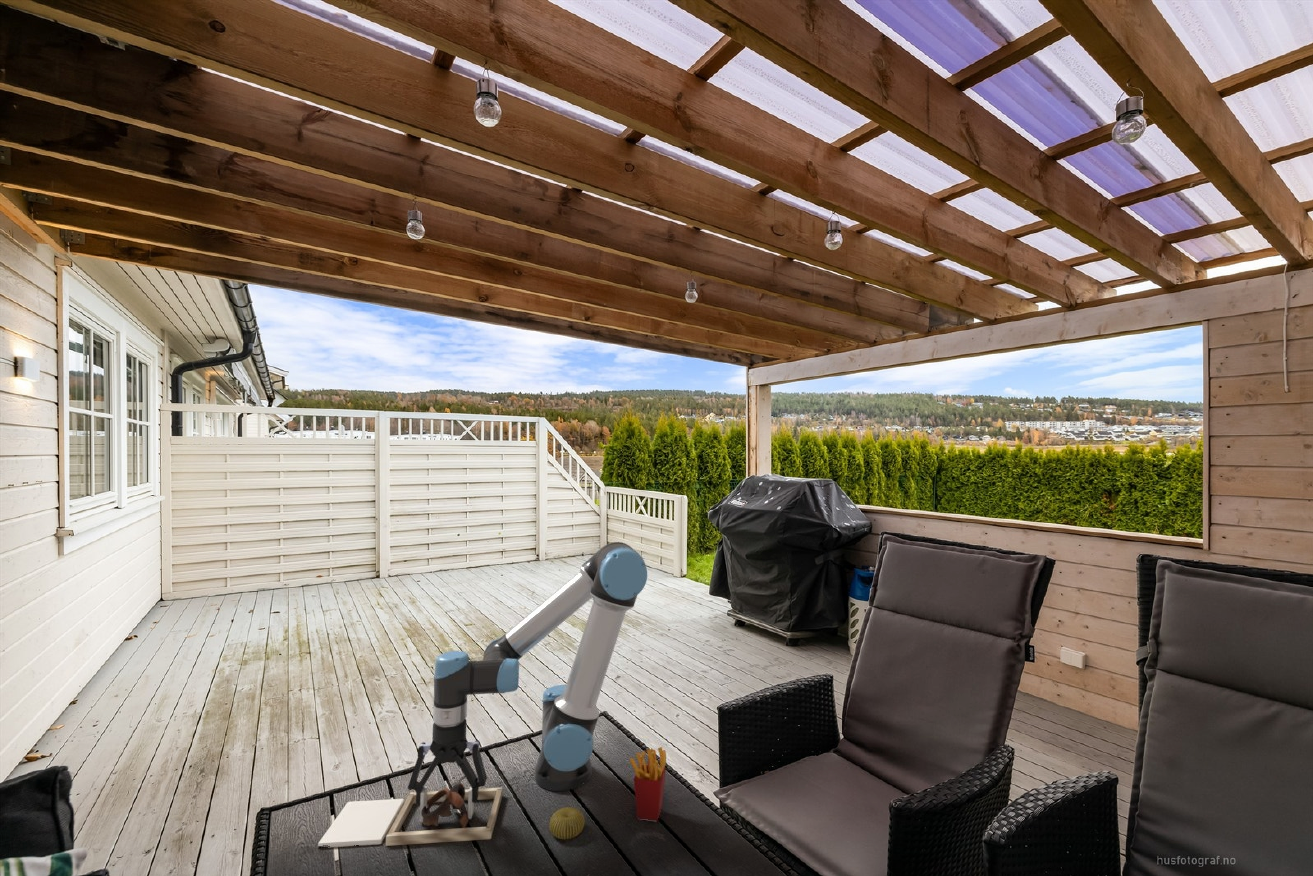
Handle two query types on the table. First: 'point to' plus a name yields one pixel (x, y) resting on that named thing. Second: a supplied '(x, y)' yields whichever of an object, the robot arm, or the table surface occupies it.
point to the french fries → (649, 784)
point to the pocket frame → (445, 834)
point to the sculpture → (566, 823)
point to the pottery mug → (446, 806)
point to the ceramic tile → (362, 823)
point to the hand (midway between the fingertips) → (446, 817)
